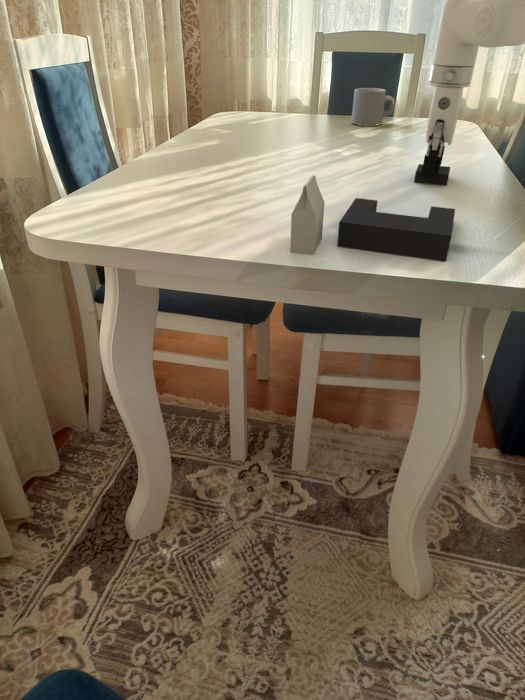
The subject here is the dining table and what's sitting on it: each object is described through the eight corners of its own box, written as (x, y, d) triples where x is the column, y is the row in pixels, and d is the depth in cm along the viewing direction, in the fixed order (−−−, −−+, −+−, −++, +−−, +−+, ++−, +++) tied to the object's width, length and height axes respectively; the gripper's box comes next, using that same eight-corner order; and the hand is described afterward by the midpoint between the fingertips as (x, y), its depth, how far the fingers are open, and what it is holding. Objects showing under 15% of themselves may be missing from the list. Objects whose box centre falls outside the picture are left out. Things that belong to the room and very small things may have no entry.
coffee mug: (350, 125, 160) (353, 91, 154) (351, 120, 168) (355, 87, 162) (392, 127, 158) (397, 92, 152) (391, 121, 166) (396, 88, 160)
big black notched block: (449, 232, 82) (455, 208, 80) (445, 261, 73) (451, 235, 70) (353, 220, 87) (355, 197, 85) (337, 246, 77) (339, 221, 75)
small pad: (446, 186, 104) (450, 166, 102) (444, 194, 99) (448, 174, 97) (415, 183, 106) (418, 164, 104) (412, 191, 101) (415, 171, 99)
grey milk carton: (321, 238, 80) (326, 175, 74) (313, 254, 75) (318, 188, 69) (299, 236, 81) (302, 173, 75) (290, 251, 76) (292, 185, 70)
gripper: (471, 83, 83) (447, 184, 93) (472, 72, 97) (452, 162, 107) (425, 80, 86) (407, 180, 95) (433, 70, 99) (416, 159, 109)
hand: (431, 170), depth 101 cm, fingers open, 9 cm apart
